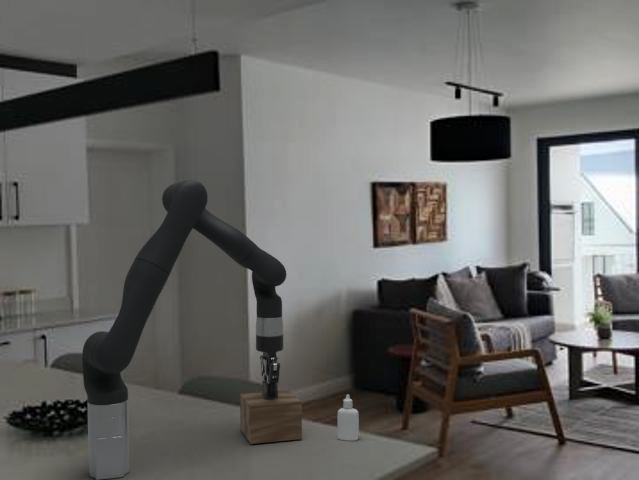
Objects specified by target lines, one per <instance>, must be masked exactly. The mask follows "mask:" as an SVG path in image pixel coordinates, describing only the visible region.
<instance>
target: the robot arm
mask: <svg viewBox="0 0 639 480" xmlns="http://www.w3.org/2000/svg"><path fill="white" fill-rule="evenodd" d="M208 198H209V197H208V191H207V188H206V186H204V184H203V183H202V182H200V181H198V180H193V179H190V180H189V179H186V180H183V181H178V182H175V183H172V184H170V185H168V186H167V187H166V188H165V189H164V191H163V192H162V198H161V203H162V205H163V208H164V210H165V211H166V212H167V214H166V215H165V217H164V219H163V221H162V223H161V224H160V226H159V228H157V230H156V231H154V233H153V235H152V236H151V237H149V239H147V241H145V243H144V244H143V246H142V248H141V249H139V252H138V253H137V255H136V256H135V258H134V260H133V262H132V264H131V265H130V267H129V270H128V271H127V274H126V277H125V280H124V282H123V289H122V299H121V306H120V309H119V312H118V315H117V317H116V318H115V320H114V322H113V323H112V326H111V328H110V330H109V331H96V332H94V333H92V334H91V335H89V337H87V339H86V340H85V342H84V344H83V348H82V356H81V360H82V362H81V363H82V378H83V380H82V381H83V387H84V391H85V393H86V397H87V436H88V437H87V445H88V447H87V448H88V475H89V477H91V478H94V479H95V480H108V479H118V478H123V477H124V476H125V475H126V474H128V473H129V472H130V437H129V436H130V434H129V433H130V432H129V430H130V429H129V425H130V424H129V390H128V387H127V385H126V384H125V382H124V380H123V379H122V375H121V372H124V370H126V369H127V368H128V367H129V365H130V364H131V361H132V359H133V358H134V355H135V352H136V350H137V347H138V344H139V342H140V339H141V337H142V334H143V331H144V328H145V327H146V324H147V321H148V319H149V317H150V316H151V314H152V311H153V309H154V307H155V305H156V303H157V300H158V298H159V297H160V295H161V293H162V292H163V289H164V288H165V285H166V284H167V281H168V279H169V277H170V275H171V273H172V270H173V269H174V266H175V264H176V262H177V260H178V257H179V256H180V253H181V251H182V250H183V247H184V246H185V243H186V241H187V239H188V237H189V236H190V233H191V232H192V231H193V230H194V231H196V232H198V233H199V234H201V235H202V236H203V237H204V238H206V239H208V240H209V241H210V242H212V243H213V244H214V245H215V246H216V247H218V248H219V249H220V250H221V251H223V252H224V253H225V254H226V255H227V256H228V257H230V259H232V260H233V261H234V262H235V263H237V265H239V266H241V267H242V268H245V269H247V270H250V271H251V283H252V288H253V292H254V297H255V300H256V319H255V320H256V321H255V350H256V351H258V352H260V353H262V354H261V355H260V356H259V359H260V369H261V370H260V371H261V376H262V379H263V380H262V381H264V380H267V383H268V397H269V398H273V397H276V384H277V383H278V384H279V380H280V369H281V364H280V362H279V357H277V353H278V352H281V351H283V350H284V321H283V300H282V297H281V296H280V295H279V294H278V293H277V292H276V291H277V290H276V287H279V286H281V285H282V284H284V282H285V281H286V279H287V270H286V268H285V267H286V266H284V264H283V263H282V262H281V261H280V260H279V259H277V258H276V257H275V256H273V255H271V254H270V253H268V251H265V250H263V249H262V248H260V247H259V246H258V245H257V244H256V243H255V242H254V241H252V239H251V238H249V236H247V235H246V234H244V233H243V232H242V231H241V230H239V229H238V228H236V227H235V226H233V225H231V224H229V223H228V222H225V220H222V219H220V217H217V216H216V215H215V214H213V213H211V211H209V210H208V209H207V208H206V207H207V203H208Z"/></svg>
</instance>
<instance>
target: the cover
mask: <svg viewBox="0 0 639 480" xmlns="http://www.w3.org/2000/svg"><path fill="white" fill-rule="evenodd" d="M302 406H303V403H302V401H301V400H300V399H299V398H298V397H297V396H296V395H294V394H293V392H291V391H290V390H289V389H288V390H287V389H285V390H279V382H278V383H277V384H276V397H273V398H269V397H268V383H267V380H262V390H261V392H260V391H259V392H249V393H248V392H247V393H239V407H240V408H239V409H240V411H239V414H240V415H239V417H240V419H239V420H240V424H239V425H240V431H241V432H242V433H243V435H244V437H245V438H246V440H247V442H249V444H250V445H253V444H255V445H256V444H262V443H274V442H275V443H276V442H283V441H284V442H285V441H294V440H302V439H303V421H302V420H303V417H302V416H303V412H302V410H303V409H302V408H303V407H302Z"/></svg>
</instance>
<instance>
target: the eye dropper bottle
mask: <svg viewBox="0 0 639 480" xmlns="http://www.w3.org/2000/svg"><path fill="white" fill-rule="evenodd" d="M342 400H343V401H342V402H343V404H342V405H343V406H342V408H339V409H338V411H337V419H336V420H337V424H336V425H337V439H338V440H341V441H346V442H347V441H349V442H350V441H351V442H352V441H358V439H359V438H360V422H359V420H360V419H359V415H360V414H359V411H358V410H357V409H356V408H353V399H351V397H350V394H346V395H345V398H344V399H342Z"/></svg>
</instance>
